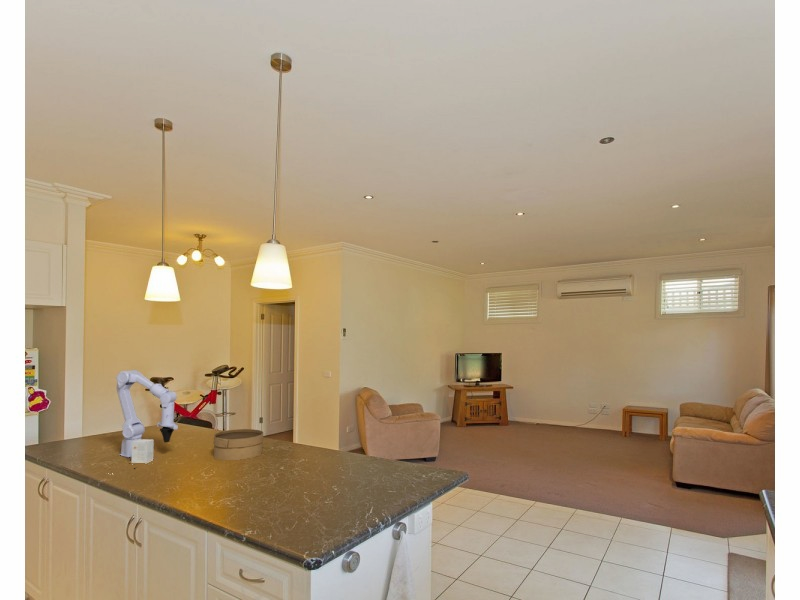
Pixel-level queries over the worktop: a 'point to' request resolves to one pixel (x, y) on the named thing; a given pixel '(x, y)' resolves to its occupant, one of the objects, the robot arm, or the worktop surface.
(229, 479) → the worktop surface
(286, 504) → the worktop surface
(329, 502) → the worktop surface
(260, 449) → the steamer basket
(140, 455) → the small box
